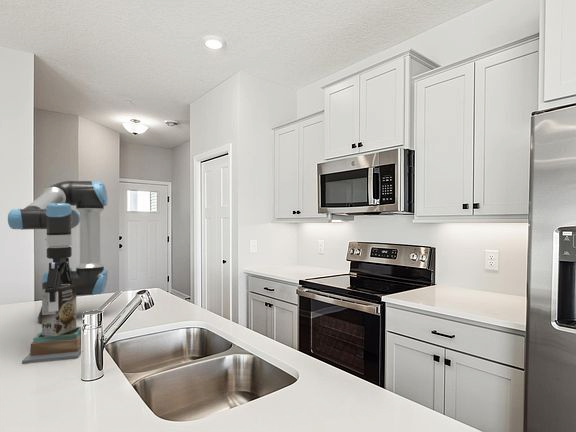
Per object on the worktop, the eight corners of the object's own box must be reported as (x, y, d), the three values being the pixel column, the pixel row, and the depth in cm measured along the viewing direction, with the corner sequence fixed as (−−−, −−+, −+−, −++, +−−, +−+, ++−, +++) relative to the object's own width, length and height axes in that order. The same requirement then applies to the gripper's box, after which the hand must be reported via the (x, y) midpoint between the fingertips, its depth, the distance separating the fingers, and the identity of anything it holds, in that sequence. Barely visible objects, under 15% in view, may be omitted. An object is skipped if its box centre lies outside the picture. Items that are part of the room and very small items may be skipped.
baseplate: (44, 343, 138) (44, 340, 138) (91, 339, 142) (91, 336, 142) (21, 364, 118) (21, 360, 118) (77, 358, 123) (77, 355, 123)
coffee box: (57, 336, 125) (56, 289, 125) (41, 335, 126) (40, 288, 127) (77, 328, 134) (77, 284, 134) (62, 327, 135) (62, 284, 135)
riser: (43, 344, 134) (43, 329, 134) (86, 340, 138) (85, 325, 138) (30, 356, 122) (30, 339, 122) (77, 351, 126) (77, 335, 126)
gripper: (58, 244, 141) (59, 298, 141) (33, 250, 117) (34, 316, 117) (80, 243, 143) (80, 297, 144) (60, 249, 119) (60, 314, 120)
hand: (59, 306), depth 131 cm, fingers open, 13 cm apart
